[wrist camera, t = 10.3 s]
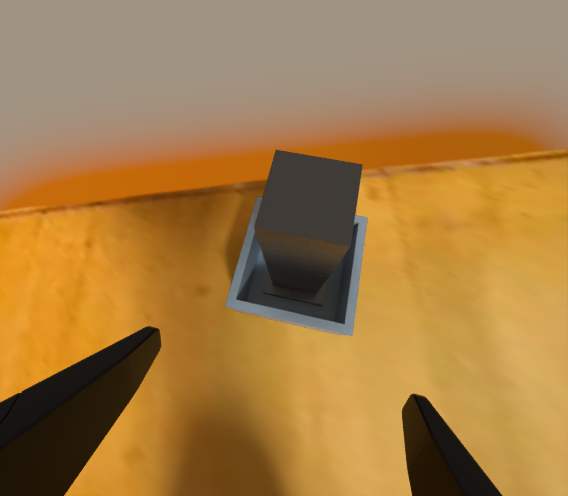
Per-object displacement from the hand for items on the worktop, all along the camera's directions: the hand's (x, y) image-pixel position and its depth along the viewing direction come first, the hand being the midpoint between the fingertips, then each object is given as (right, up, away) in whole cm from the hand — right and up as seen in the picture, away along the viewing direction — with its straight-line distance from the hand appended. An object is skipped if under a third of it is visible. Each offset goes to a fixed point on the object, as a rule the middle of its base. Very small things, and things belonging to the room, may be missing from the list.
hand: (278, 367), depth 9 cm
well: (+1, +2, +14) cm, 14 cm away
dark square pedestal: (+1, +2, +13) cm, 13 cm away
